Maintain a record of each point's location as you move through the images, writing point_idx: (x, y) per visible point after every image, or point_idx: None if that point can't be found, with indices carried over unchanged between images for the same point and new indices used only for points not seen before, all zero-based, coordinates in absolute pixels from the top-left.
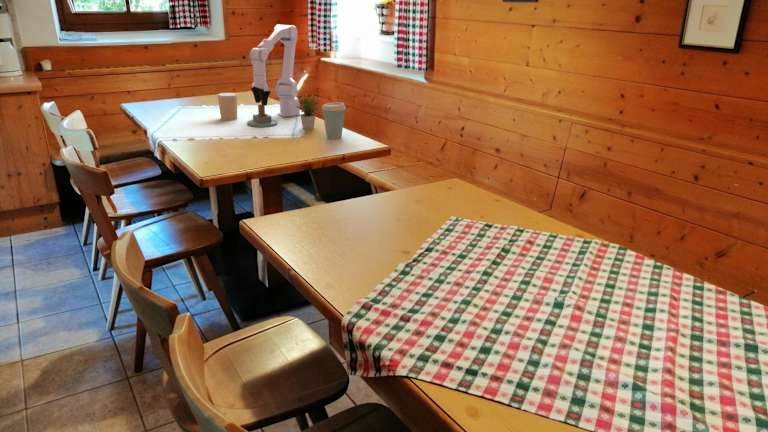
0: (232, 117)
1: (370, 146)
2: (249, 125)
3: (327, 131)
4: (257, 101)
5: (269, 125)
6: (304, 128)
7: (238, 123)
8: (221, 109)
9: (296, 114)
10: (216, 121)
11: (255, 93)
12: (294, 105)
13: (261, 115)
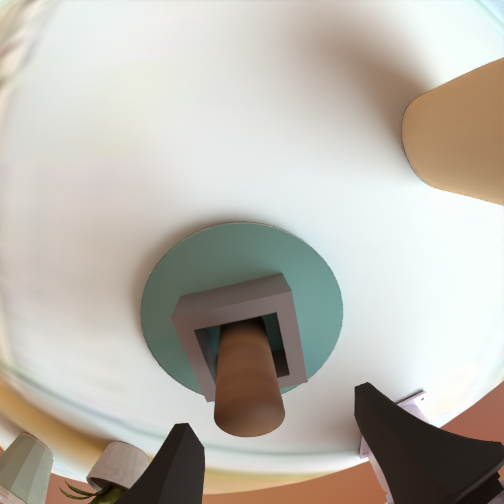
0: (412, 147)
1: (3, 445)
2: (200, 230)
3: (14, 441)
4: (359, 405)
5: (153, 350)
6: (110, 443)
7: (302, 162)
8: (455, 78)
9: (365, 451)
10: (382, 54)
11: (404, 464)
12: (381, 474)
13: (218, 352)
